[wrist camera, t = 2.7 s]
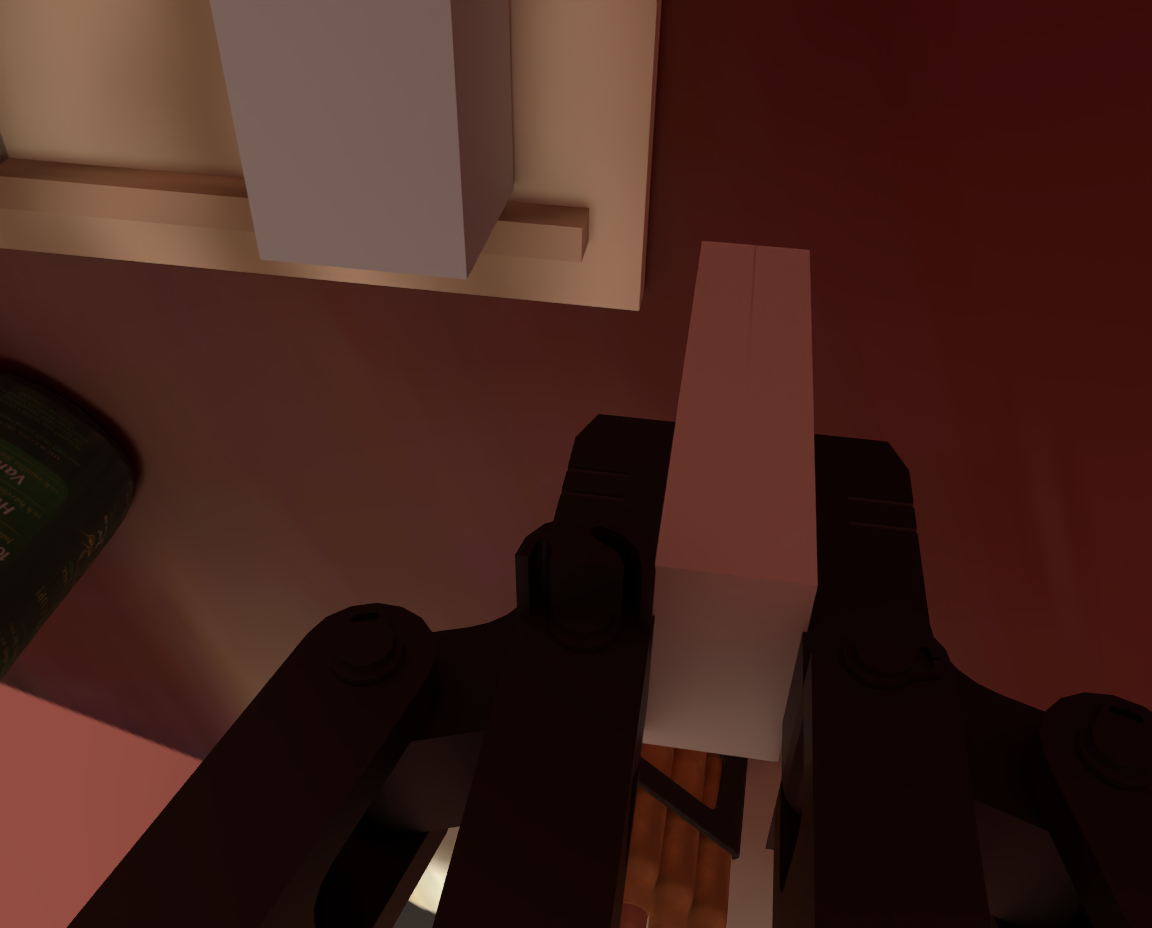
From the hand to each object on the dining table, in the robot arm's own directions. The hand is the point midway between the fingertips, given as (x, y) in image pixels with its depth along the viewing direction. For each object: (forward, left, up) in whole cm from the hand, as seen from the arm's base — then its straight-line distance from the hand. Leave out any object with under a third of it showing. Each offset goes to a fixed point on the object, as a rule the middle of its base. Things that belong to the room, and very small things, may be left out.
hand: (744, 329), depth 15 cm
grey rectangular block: (+9, -2, -12) cm, 15 cm away
